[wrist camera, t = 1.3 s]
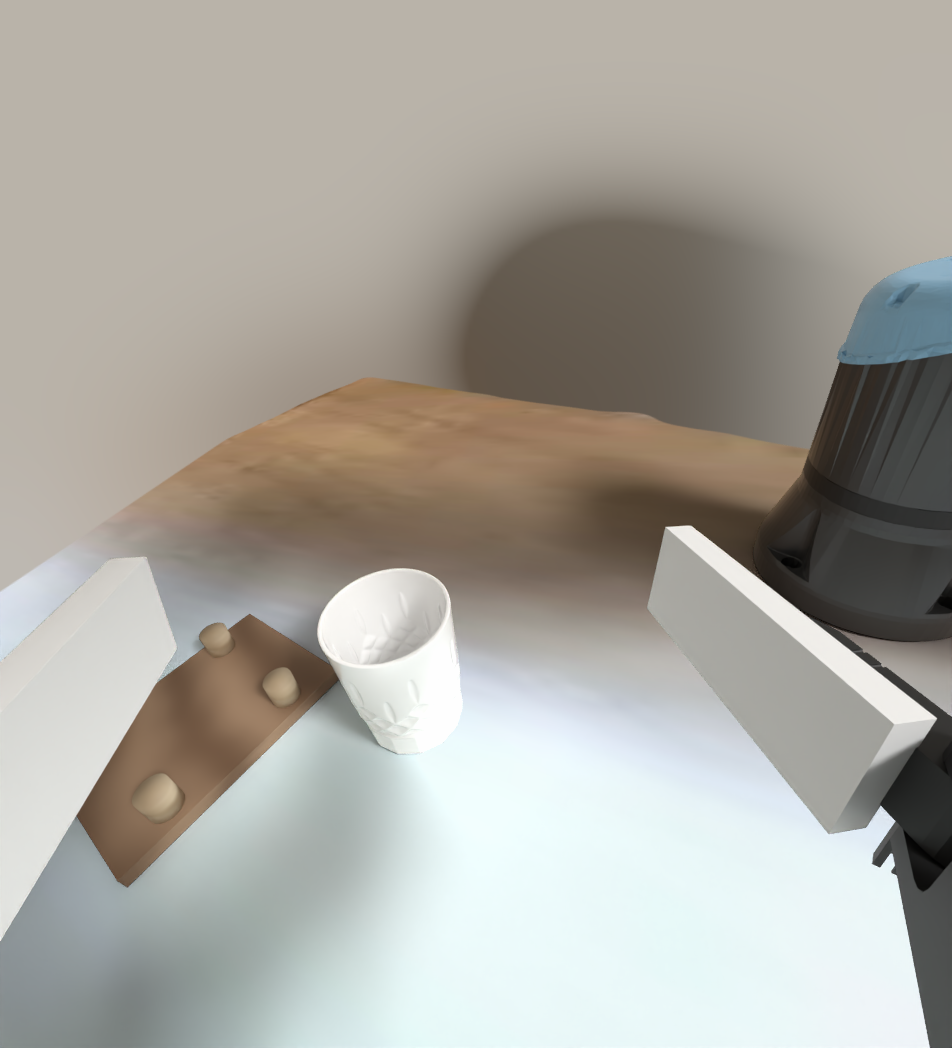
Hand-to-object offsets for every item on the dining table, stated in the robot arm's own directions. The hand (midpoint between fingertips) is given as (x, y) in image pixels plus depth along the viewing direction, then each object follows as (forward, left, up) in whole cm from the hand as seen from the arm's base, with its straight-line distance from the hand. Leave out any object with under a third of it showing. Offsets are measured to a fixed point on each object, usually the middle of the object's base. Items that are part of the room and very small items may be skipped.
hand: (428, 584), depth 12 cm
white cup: (-5, -10, -21) cm, 24 cm away
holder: (+4, -23, -21) cm, 32 cm away
